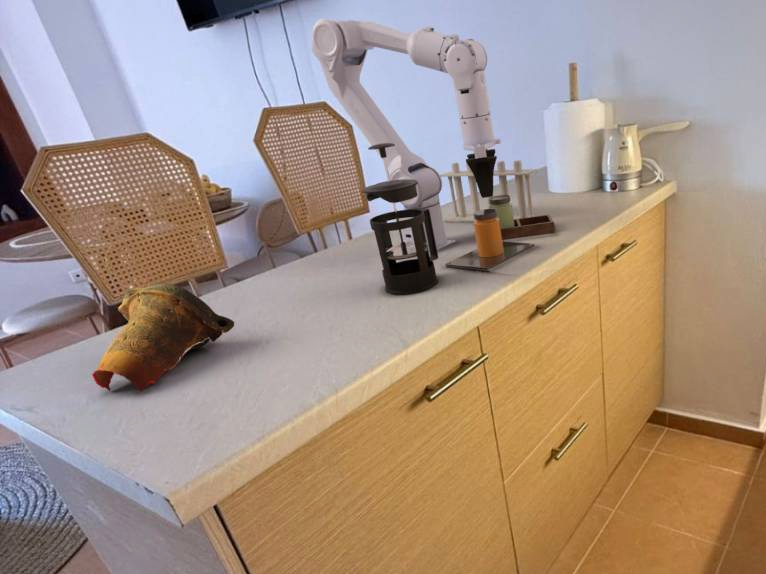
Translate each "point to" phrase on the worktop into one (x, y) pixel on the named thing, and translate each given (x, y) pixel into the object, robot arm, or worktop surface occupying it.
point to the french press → (409, 272)
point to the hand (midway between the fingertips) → (487, 193)
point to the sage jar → (503, 210)
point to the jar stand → (529, 227)
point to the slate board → (488, 258)
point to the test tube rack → (504, 191)
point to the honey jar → (488, 233)
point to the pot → (158, 333)
